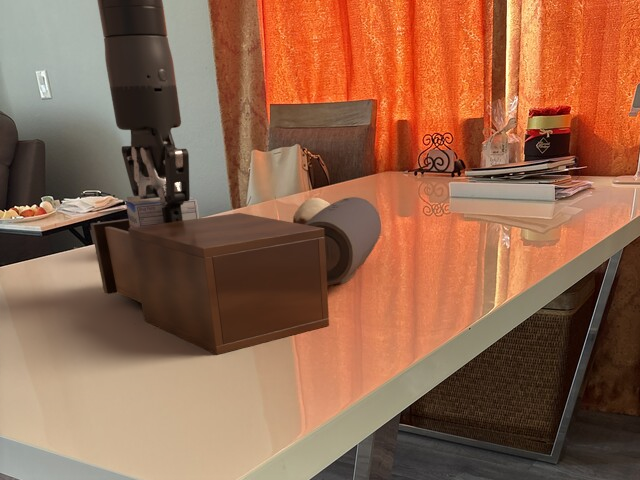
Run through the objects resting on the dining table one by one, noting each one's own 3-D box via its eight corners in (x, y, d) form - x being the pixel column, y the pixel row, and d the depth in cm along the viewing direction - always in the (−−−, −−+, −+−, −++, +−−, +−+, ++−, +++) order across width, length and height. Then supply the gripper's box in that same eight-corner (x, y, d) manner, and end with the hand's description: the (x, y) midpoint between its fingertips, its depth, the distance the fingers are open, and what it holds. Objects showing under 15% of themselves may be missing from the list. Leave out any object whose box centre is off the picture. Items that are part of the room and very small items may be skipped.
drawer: (91, 287, 99) (77, 220, 95) (180, 271, 107) (170, 208, 102) (158, 316, 85) (144, 239, 80) (255, 295, 92) (248, 223, 88)
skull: (307, 228, 135) (336, 187, 128) (342, 270, 134) (372, 230, 127) (266, 237, 126) (295, 192, 119) (303, 281, 125) (333, 239, 118)
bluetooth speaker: (328, 259, 115) (324, 193, 110) (385, 260, 114) (384, 192, 109) (290, 295, 96) (284, 216, 91) (358, 296, 94) (355, 216, 89)
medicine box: (194, 262, 97) (185, 194, 92) (206, 268, 93) (197, 197, 89) (137, 271, 93) (124, 200, 89) (146, 277, 90) (134, 203, 86)
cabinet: (144, 321, 87) (127, 228, 82) (248, 298, 95) (239, 212, 90) (216, 354, 75) (202, 248, 69) (329, 325, 83) (324, 228, 77)
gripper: (88, 85, 86) (115, 233, 94) (138, 82, 76) (164, 247, 84) (146, 84, 90) (168, 225, 98) (201, 80, 80) (220, 238, 88)
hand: (166, 234), depth 91 cm, fingers closed on medicine box, 4 cm apart
